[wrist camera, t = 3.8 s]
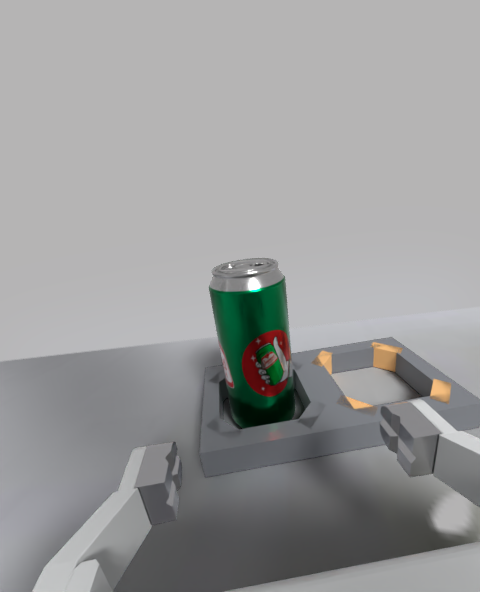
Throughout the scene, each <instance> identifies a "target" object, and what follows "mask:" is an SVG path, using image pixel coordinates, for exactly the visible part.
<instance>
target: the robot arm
mask: <svg viewBox="0 0 480 592" xmlns="http://www.w3.org/2000/svg"><path fill="white" fill-rule="evenodd" d="M380 414H381V415H382V417H383V419H382V421H381V422H380V433H381V436H382V439H383V441H384V443H385V444H386V446H387V447H388V448H389V450H391V451H393V452H395V453H396V454H397V461H398V462H399V464H400V465H401V466H402V468H403V469H404V470H405V472H406V473H407V474H408V476H409V477H416V476H423V475H429V474H433V475H434V476H435V477H436V478H438V479H439V480H441V481H442V482H444V483H445V484H447V485H448V486H449V487H451V488H452V489H454V490H455V491H457V492H458V493H460V494H461V495H463V496H464V497H465V498H467V499H468V500H470V501H471V502H473V503H474V504H476V505H477V506H478V507H480V439H479V438H477V437H475V436H472V435H470V434H468V433H466V432H463V431H457V430H456V429H454V428H453V427H452V426H451V425H450V424H449V423H448V422H447V421H446V420H444V419H443V418H442V417H441V416H440V415H439V414H438V413H437V412H436V411H434V410H433V409H432V408H431V407H430V406H429V405H428V404H427V403H426V402H425V401H423V400H421V399H417V400H412V401H407V402H401V403H395V404H390V405H384V406H382V407H381V411H380ZM181 482H182V466H181V460H180V457H178V456H177V446H176V443H175V442H169V443H162V444H155V445H148V446H143V447H136V448H134V449H133V451H132V452H131V455H130V458H129V461H128V463H127V466H126V469H125V472H124V474H123V477H122V480H121V483H120V486H119V488H118V491H117V492H113V493H112V494H111V495H110V496H109V497H108V499H107V500H106V501H105V502H104V503H103V504H102V505H101V506H100V507H99V508H98V509H97V510H96V511H95V513H94V514H93V515H92V516H91V517H90V518H89V519H88V520H87V521H86V522H85V523H84V524H83V526H82V527H81V528H80V529H79V530H78V531H77V532H76V533H75V534H74V535H73V536H72V537H71V539H70V540H69V541H68V542H67V543H66V544H65V545H64V546H63V547H62V548H61V549H60V550H59V552H58V553H57V554H56V555H55V556H54V557H53V558H52V559H51V560H50V561H49V562H48V563H47V565H46V566H45V567H44V568H43V570H42V572H41V574H40V576H39V578H38V581H37V583H36V585H35V587H34V589H33V591H32V592H113V590H114V589H115V587H116V585H117V584H118V582H119V580H120V579H121V577H122V575H123V574H124V572H125V571H126V569H127V567H128V566H129V564H130V562H131V561H132V559H133V557H134V556H135V554H136V552H137V551H138V549H139V547H140V546H141V544H142V543H143V541H144V539H145V538H146V536H147V534H148V533H149V531H150V529H151V528H152V526H151V525H156V524H161V523H165V522H170V521H175V520H176V519H177V512H178V505H179V497H178V493H177V491H178V490H179V488H180V487H181ZM223 592H480V541H479V542H474V543H469V544H464V545H459V546H454V547H449V548H443V549H438V550H433V551H428V552H423V553H418V554H413V555H407V556H402V557H397V558H392V559H387V560H382V561H377V562H371V563H366V564H361V565H356V566H351V567H346V568H341V569H336V570H330V571H325V572H320V573H315V574H310V575H305V576H300V577H295V578H290V579H285V580H279V581H274V582H269V583H264V584H259V585H254V586H249V587H244V588H239V589H233V590H228V591H223Z"/></svg>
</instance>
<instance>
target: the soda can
mask: <svg viewBox="0 0 480 592" xmlns="http://www.w3.org/2000/svg"><path fill="white" fill-rule="evenodd" d="M212 274H213V278H212V281H211V283H210V285H209V291H210V297H211V302H212V308H213V314H214V319H215V324H216V330H217V336H218V341H219V347H220V353H221V358H222V364H223V369H224V375H225V380H226V386H227V392H228V397H229V403H230V408H231V414H232V417H233V419H234V421H235V422H236V423H237V424H238V425H239V426H240V427H242V428H243V429H245V428H250V427H256V426H262V425H267V424H273V423H279V422H284V421H290V420H291V419H292V417H293V416H294V413H295V396H294V383H293V371H292V358H291V346H290V333H289V321H288V309H287V296H286V284H285V276H284V275H283V274H282V273H281V271H280V270H279V269H278V262H277V261H276V260H273V259H268V258H254V259H244V260H237V261H232V262H228V263H224V264H221V265H219V266H217V267H215V268H213V269H212Z"/></svg>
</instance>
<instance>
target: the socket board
mask: <svg viewBox="0 0 480 592" xmlns="http://www.w3.org/2000/svg"><path fill="white" fill-rule="evenodd" d="M291 358H292V371H293V383H294V388H295V389H296V390H297V392H298V394H299V396H300V399H301V401H302V403H303V405H304V408H305V411H304V412H303V414H302V415H301V417H300V418H299V419H296V420H290V421H284V422H279V423H273V424H267V425H262V426H256V427H250V428H245V429H237V428H236V427H234V426H232V425H230V424H229V423H227V422H225V421H224V420H223V401H224V400H225V399H226V398H227V397H228V392H227V386H226V380H225V375H224V369H223V365H219V366H213V367H207V368H205V381H204V394H203V408H202V422H201V436H200V449H199V455H200V459H201V463H202V467H203V471H204V475H205V477H210V476H216V475H221V474H226V473H232V472H237V471H243V470H248V469H254V468H259V467H265V466H270V465H276V464H281V463H287V462H292V461H298V460H303V459H309V458H314V457H320V456H325V455H331V454H336V453H342V452H347V451H352V450H358V449H363V448H369V447H374V446H380V445H385V443H384V441H383V439H382V436H381V433H380V422H381V421H382V419H383V417H382V415H381V414H380V411H381V407H382V406H384V405H390V404H395V403H401V402H407V401H412V400H417V399H421V400H423V401H425V402H426V403H427V404H428V405H429V406H430V407H431V408H432V409H433V410H434V411H436V412H437V413H438V414H439V415H440V416H441V417H442V418H443V419H444V420H446V421H447V422H448V423H449V424H450V425H451V426H452V427H453V428H454V429H456V430H457V431H462V430H467V429H473V428H478V427H479V426H480V399H479V398H477V397H476V396H474V395H473V394H472V393H470V392H469V391H467V390H466V389H465V388H463V387H462V386H460V385H459V384H457V383H456V382H455V381H453V380H452V379H450V378H449V377H448V376H446V375H445V374H443V373H442V372H440V371H439V370H438V369H436V368H435V367H433V366H432V365H431V364H429V363H428V362H426V361H425V360H424V359H422V358H421V357H419V356H418V355H416V354H415V353H414V352H412V351H411V350H409V349H408V348H407V347H405V346H404V345H402V344H401V343H399V342H398V341H397V340H395V339H394V338H392V337H389V338H382V339H376V340H370V341H364V342H358V343H352V344H346V345H340V346H334V347H328V348H322V349H316V350H310V351H304V352H298V353H292V354H291ZM367 367H377V368H381V369H385V370H389V371H393V372H396V373H397V374H398V375H399V376H400V377H401V378H402V379H403V380H405V381H406V382H407V383H408V384H409V385H410V386H411V387H412V388H414V389H415V390H416V391H417V392H418V393H419V394H420V395H421V396H423V397H421V398H415V399H409V400H404V401H398V402H392V403H387V404H381V405H375V406H372V405H369V404H366V403H363V402H360V401H358V400H355V399H352V398H349V397H346V396H345V395H344V394H343V392H342V391H341V389H340V388H339V386H338V385H337V384H336V382H335V381H334V379H333V378H332V377H331V374H332V373H337V372H343V371H349V370H355V369H361V368H367Z"/></svg>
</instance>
